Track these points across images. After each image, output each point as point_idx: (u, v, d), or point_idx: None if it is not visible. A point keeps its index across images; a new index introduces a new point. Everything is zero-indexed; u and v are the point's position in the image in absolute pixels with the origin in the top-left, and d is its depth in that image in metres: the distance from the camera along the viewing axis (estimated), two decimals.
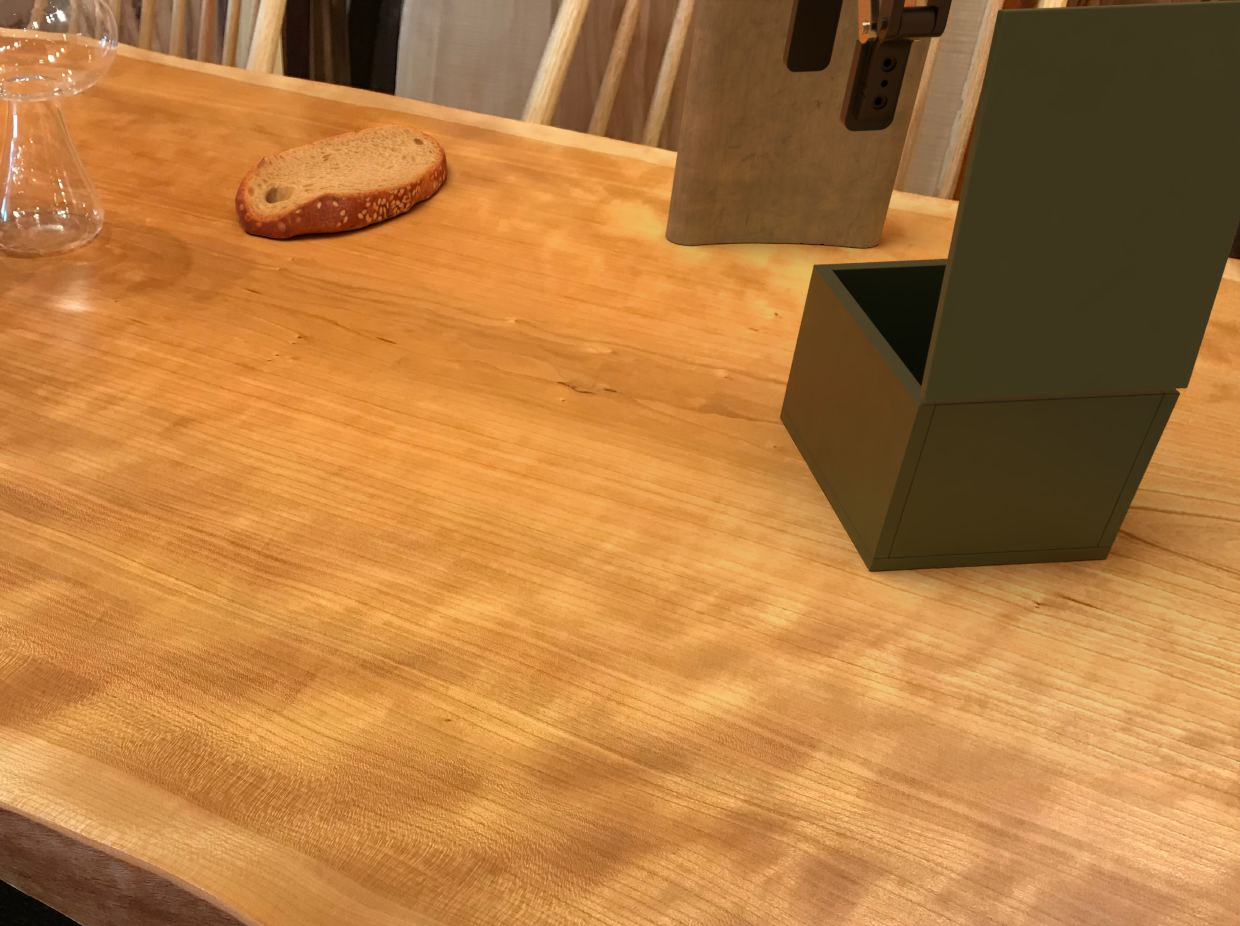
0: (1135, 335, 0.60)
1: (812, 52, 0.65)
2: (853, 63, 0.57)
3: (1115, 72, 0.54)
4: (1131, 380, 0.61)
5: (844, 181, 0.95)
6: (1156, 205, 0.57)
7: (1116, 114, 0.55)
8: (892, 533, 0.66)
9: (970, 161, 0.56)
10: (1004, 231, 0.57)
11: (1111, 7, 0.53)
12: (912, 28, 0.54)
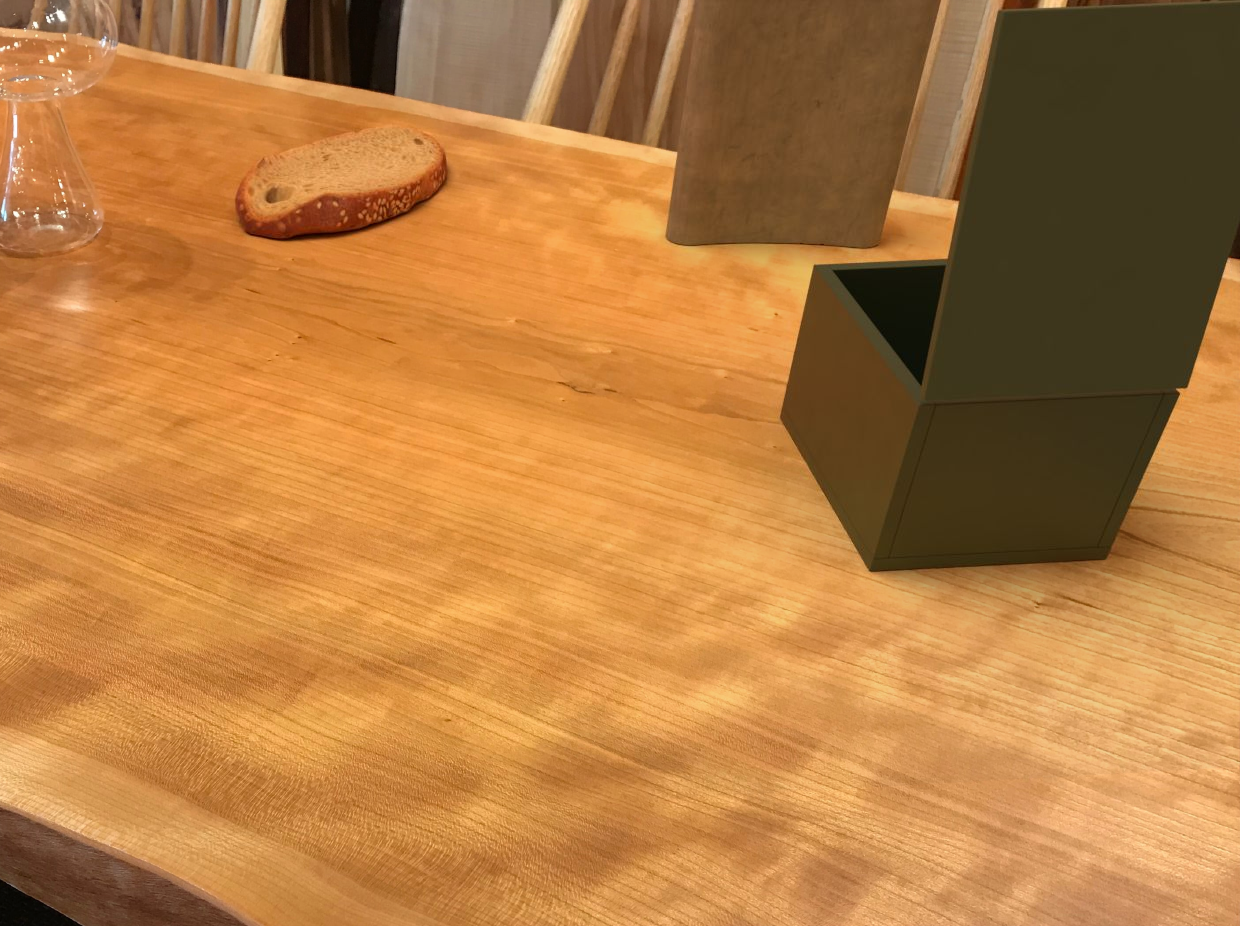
0: (1135, 335, 0.60)
1: None
2: None
3: (1115, 72, 0.54)
4: (1131, 380, 0.61)
5: (844, 181, 0.95)
6: (1156, 205, 0.57)
7: (1116, 114, 0.55)
8: (892, 533, 0.66)
9: (970, 161, 0.56)
10: (1004, 231, 0.57)
11: (1111, 7, 0.53)
12: None
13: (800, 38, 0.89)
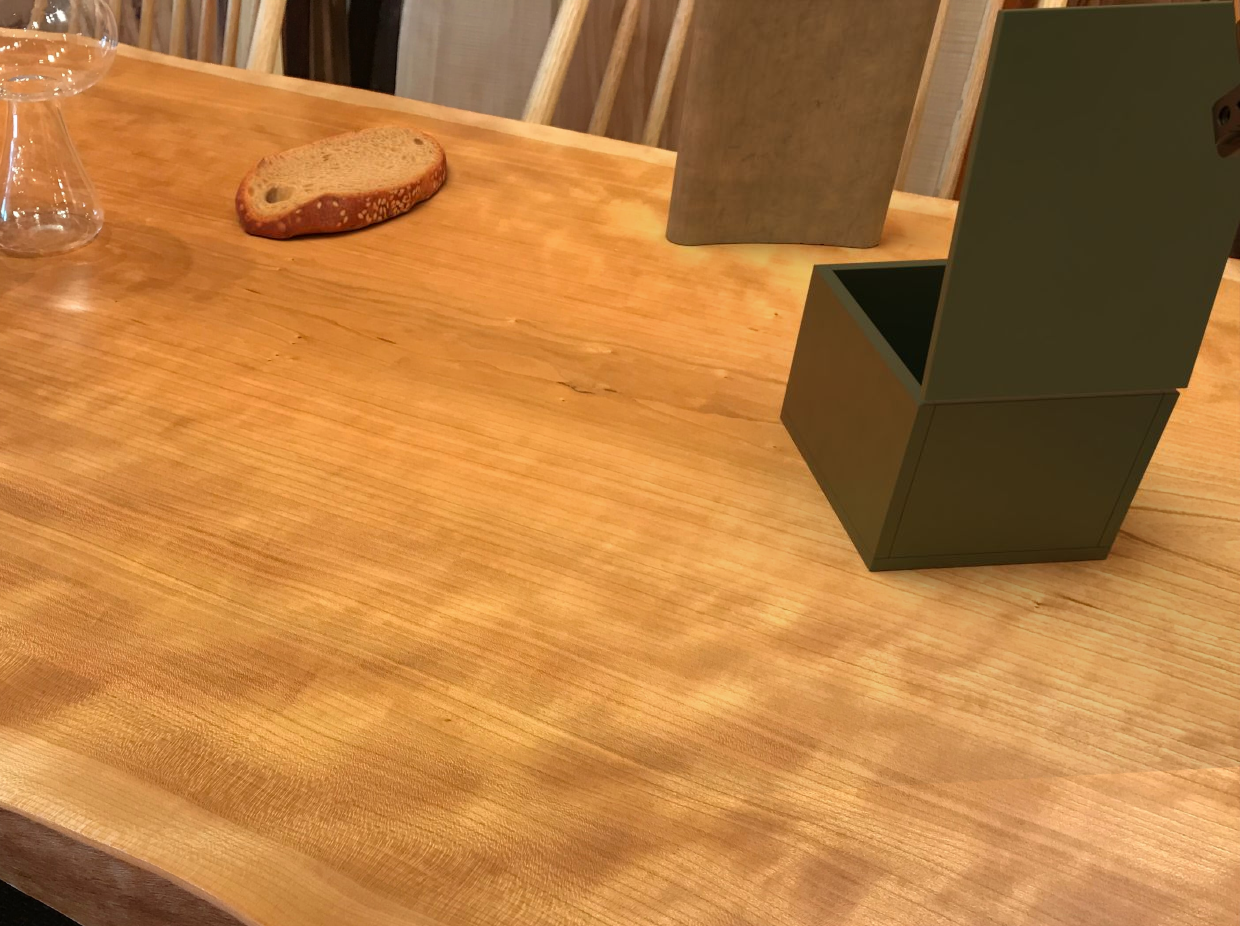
0: (1135, 335, 0.60)
1: None
2: None
3: (1115, 72, 0.54)
4: (1131, 380, 0.61)
5: (843, 181, 0.95)
6: (1156, 205, 0.57)
7: (1116, 114, 0.55)
8: (892, 533, 0.66)
9: (970, 161, 0.56)
10: (1004, 231, 0.57)
11: (1111, 7, 0.53)
12: None
13: (800, 38, 0.89)
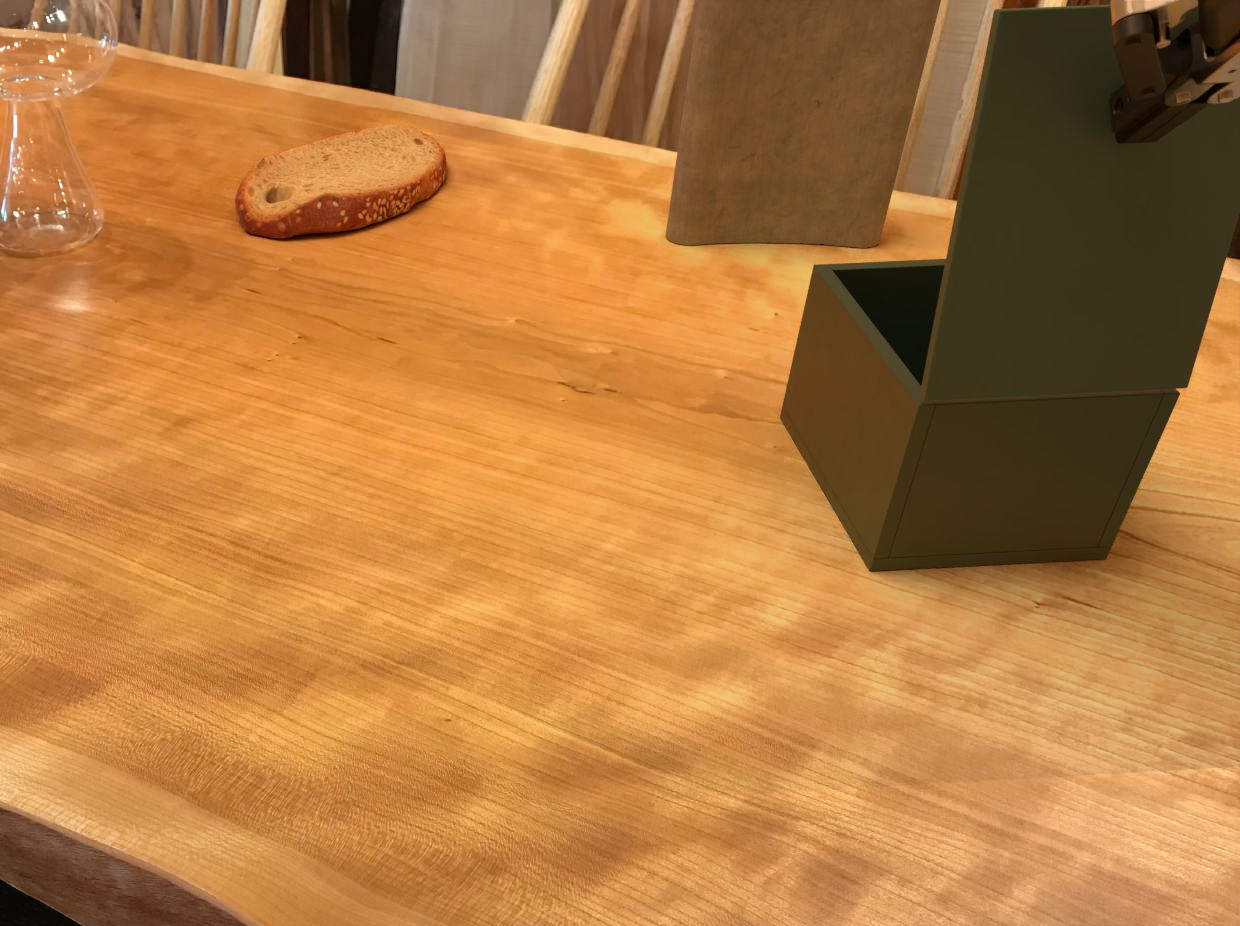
0: (1134, 335, 0.60)
1: None
2: None
3: (1112, 71, 0.54)
4: (1131, 380, 0.61)
5: (844, 181, 0.95)
6: (1154, 204, 0.57)
7: None
8: (892, 533, 0.66)
9: (967, 160, 0.56)
10: (1002, 230, 0.57)
11: (1107, 6, 0.53)
12: None
13: (800, 38, 0.89)
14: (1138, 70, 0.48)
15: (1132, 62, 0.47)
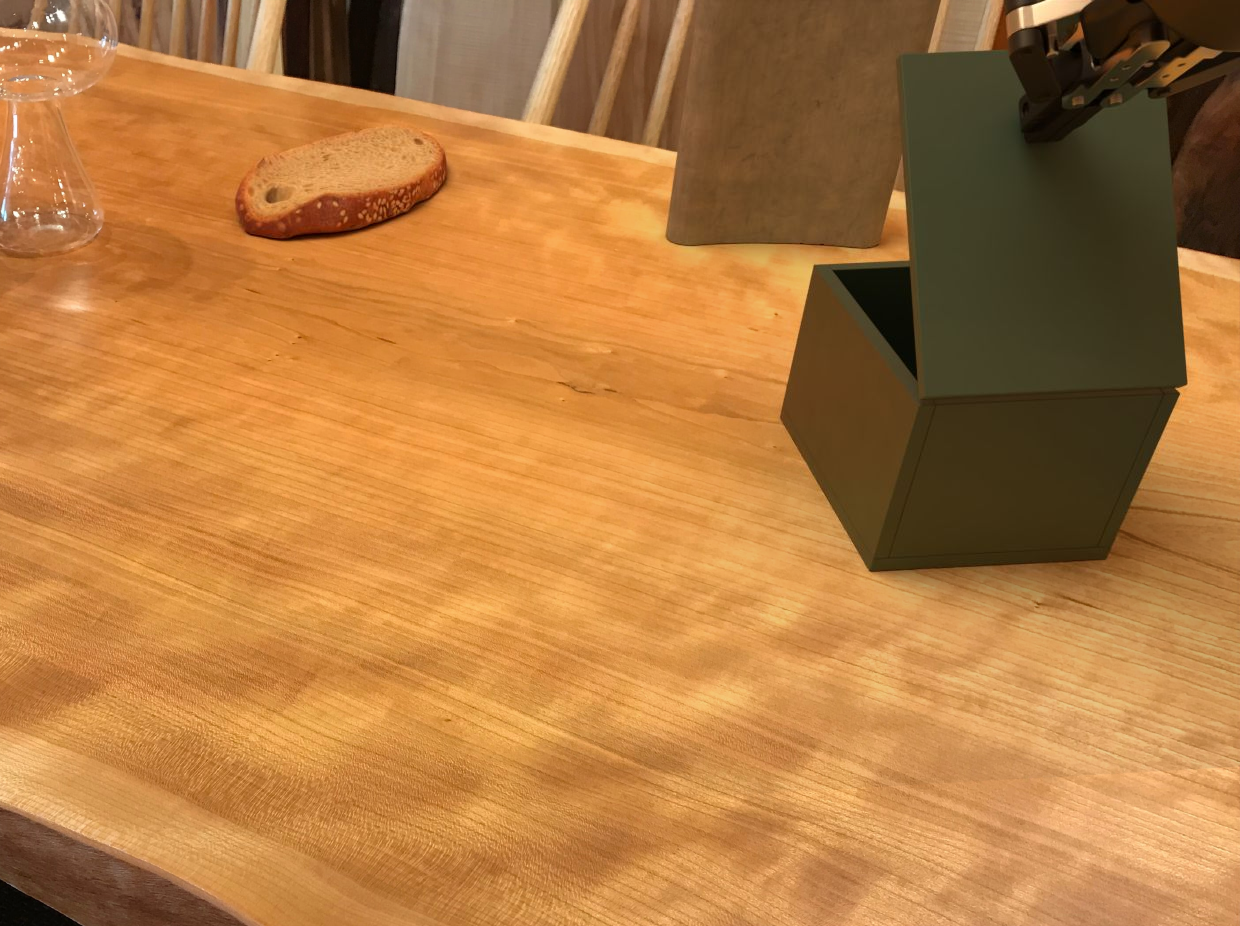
0: (1115, 331, 0.61)
1: None
2: None
3: (1014, 100, 0.62)
4: (1128, 376, 0.61)
5: (843, 181, 0.95)
6: (1091, 210, 0.62)
7: None
8: (892, 533, 0.66)
9: (906, 176, 0.62)
10: (956, 234, 0.61)
11: (992, 50, 0.62)
12: None
13: (800, 38, 0.89)
14: (1033, 77, 0.55)
15: (1027, 70, 0.54)
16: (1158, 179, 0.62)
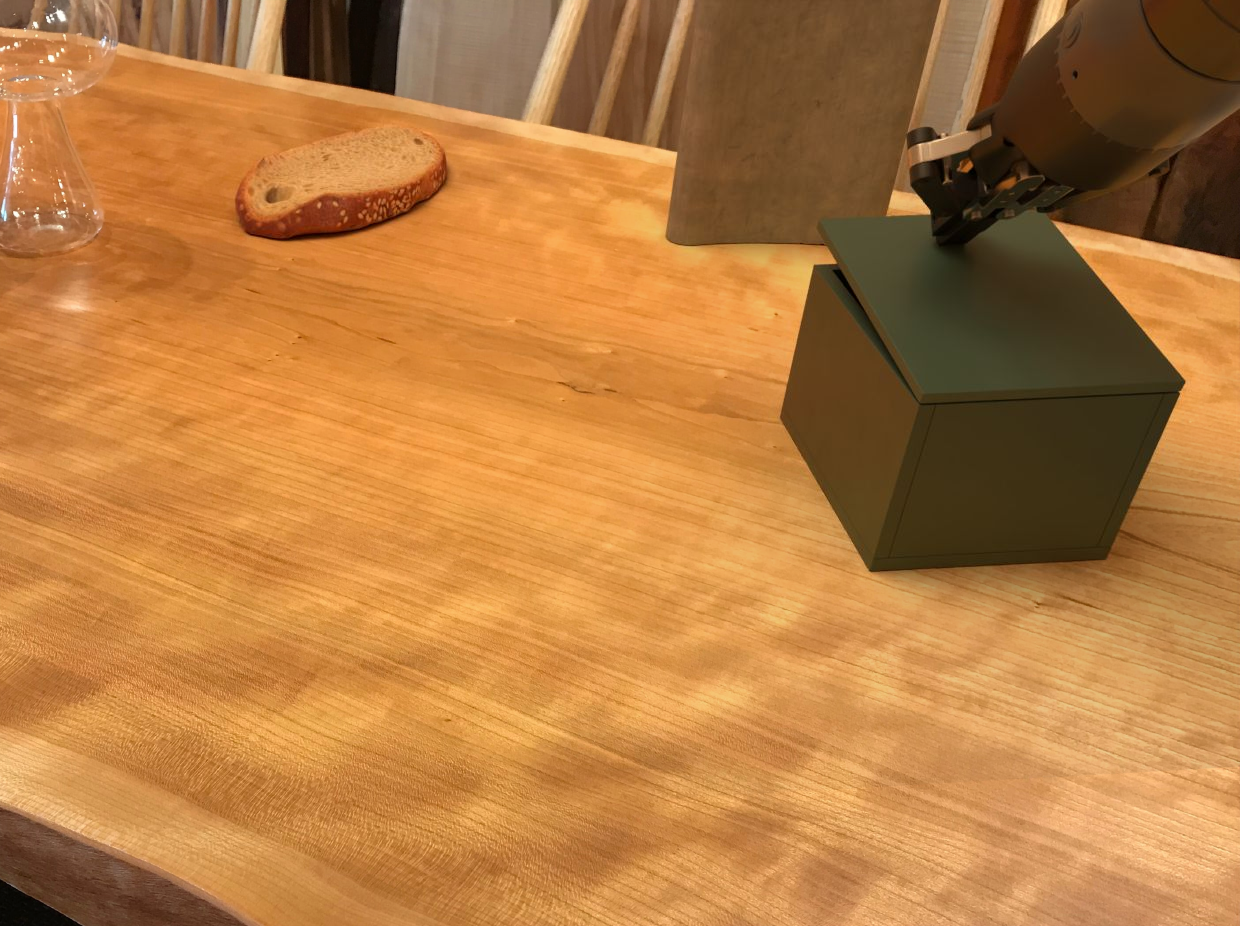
0: (1093, 352, 0.63)
1: None
2: None
3: (928, 237, 0.71)
4: (1122, 377, 0.62)
5: (843, 181, 0.95)
6: (1029, 288, 0.67)
7: (948, 252, 0.70)
8: (892, 533, 0.66)
9: (850, 278, 0.68)
10: (909, 302, 0.66)
11: None
12: None
13: (800, 38, 0.89)
14: (934, 199, 0.64)
15: (928, 193, 0.63)
16: (1081, 271, 0.68)
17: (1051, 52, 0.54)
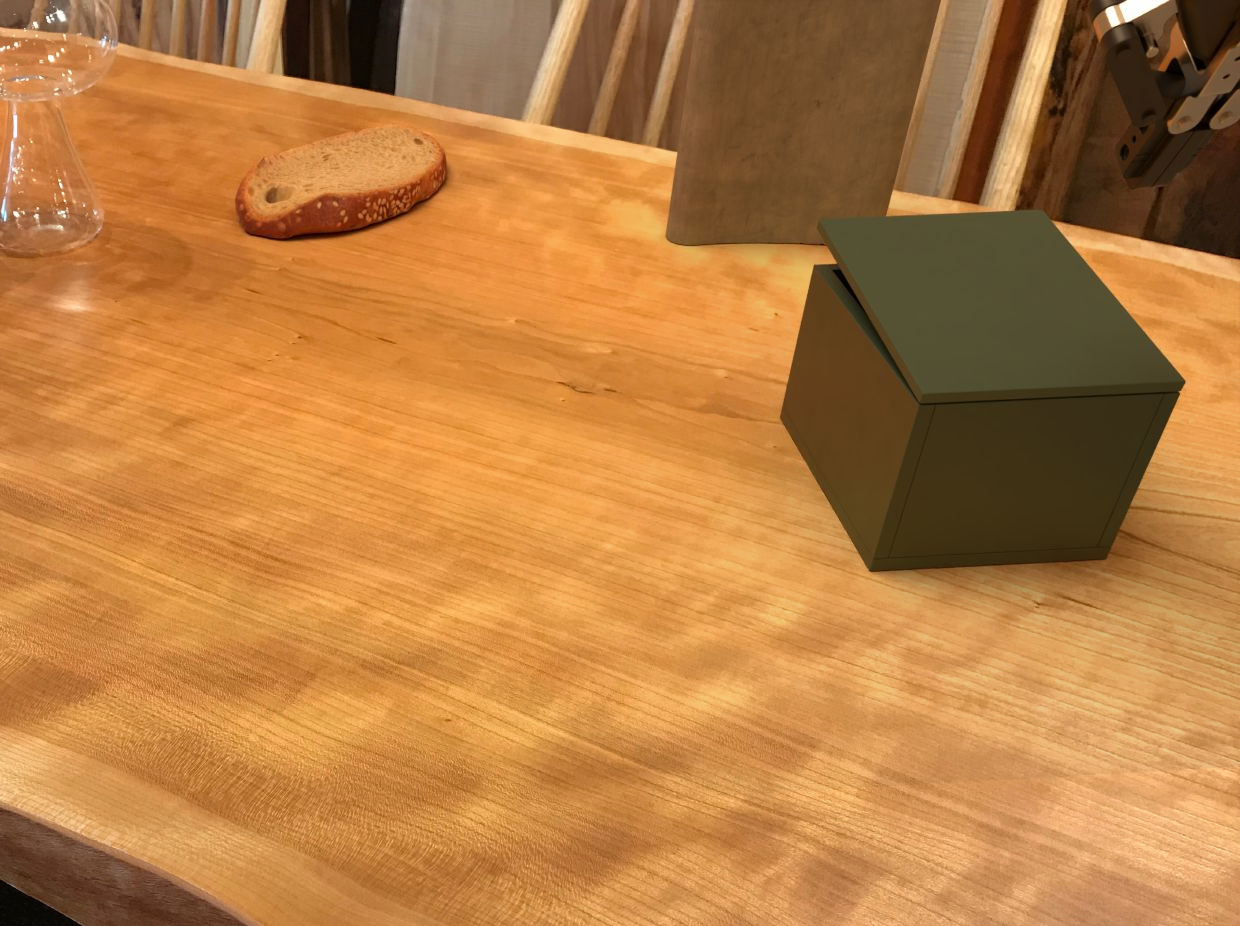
0: (1093, 352, 0.63)
1: None
2: None
3: (928, 237, 0.71)
4: (1122, 377, 0.62)
5: (843, 181, 0.95)
6: (1029, 288, 0.67)
7: (948, 252, 0.70)
8: (892, 533, 0.66)
9: (850, 278, 0.68)
10: (909, 302, 0.66)
11: None
12: None
13: (800, 38, 0.89)
14: (1134, 87, 0.51)
15: (1126, 76, 0.50)
16: (1081, 271, 0.68)
17: None
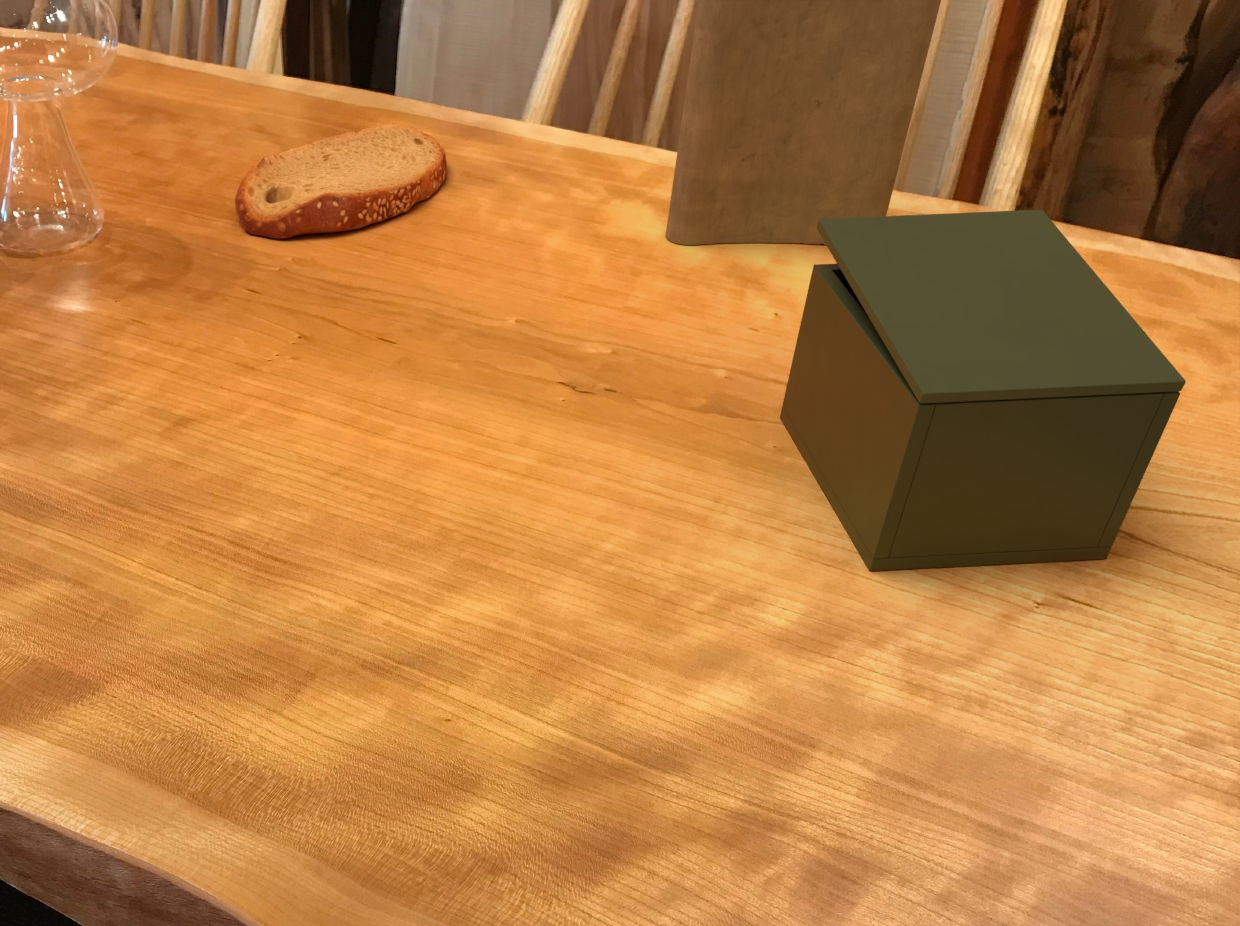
0: (1093, 352, 0.63)
1: None
2: None
3: (928, 237, 0.71)
4: (1122, 377, 0.62)
5: (843, 181, 0.95)
6: (1029, 288, 0.67)
7: (948, 252, 0.70)
8: (892, 533, 0.66)
9: (850, 278, 0.68)
10: (909, 302, 0.66)
11: None
12: None
13: (800, 38, 0.89)
14: None
15: None
16: (1081, 271, 0.68)
17: None
